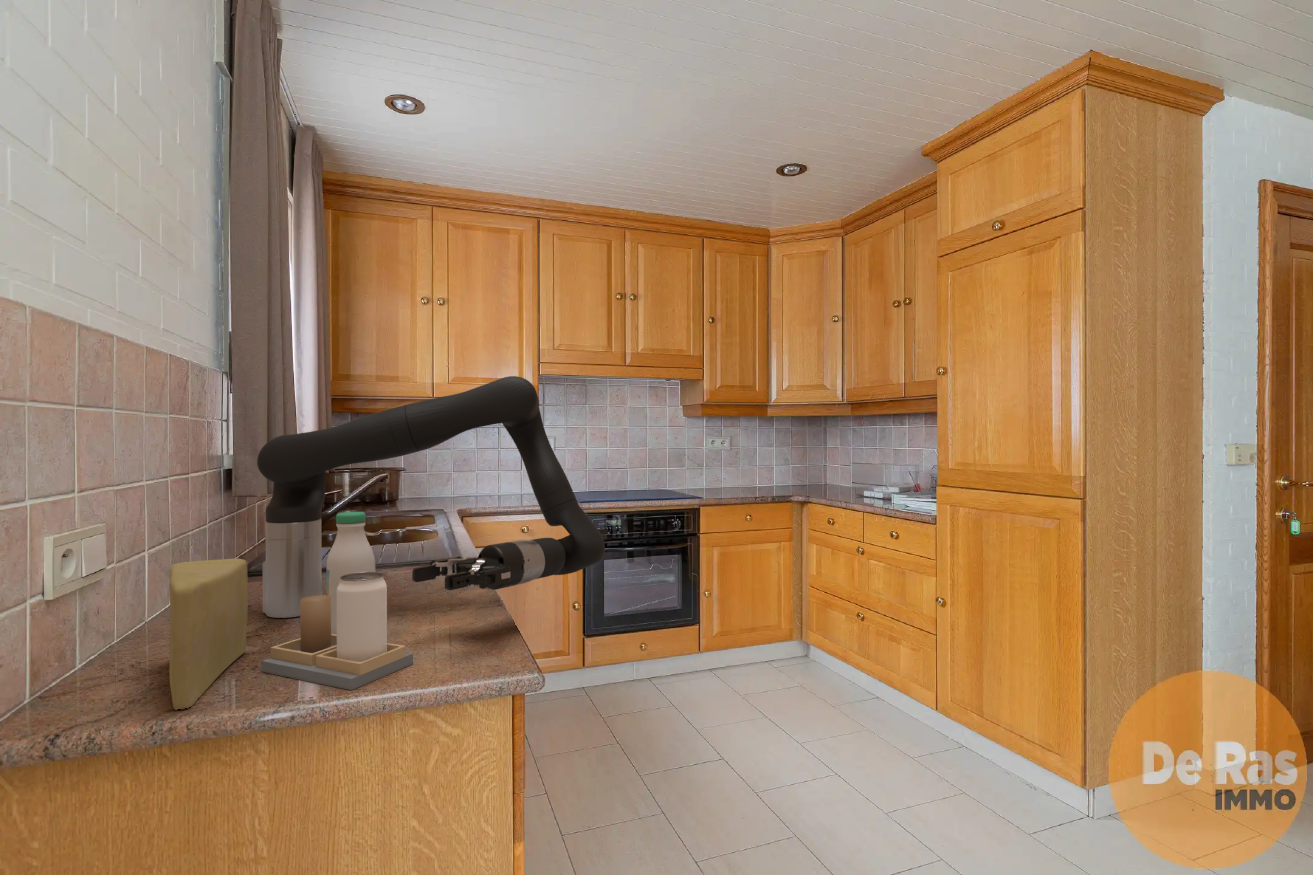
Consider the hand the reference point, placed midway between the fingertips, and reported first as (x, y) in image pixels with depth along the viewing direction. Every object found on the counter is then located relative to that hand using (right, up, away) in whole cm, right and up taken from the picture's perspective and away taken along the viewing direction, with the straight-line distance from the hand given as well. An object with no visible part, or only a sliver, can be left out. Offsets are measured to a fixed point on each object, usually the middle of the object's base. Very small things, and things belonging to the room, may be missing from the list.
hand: (429, 579), depth 103 cm
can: (-7, -10, -9) cm, 15 cm away
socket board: (-11, -11, -7) cm, 17 cm away
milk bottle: (-17, -11, +12) cm, 24 cm away
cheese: (-27, -11, -12) cm, 32 cm away
